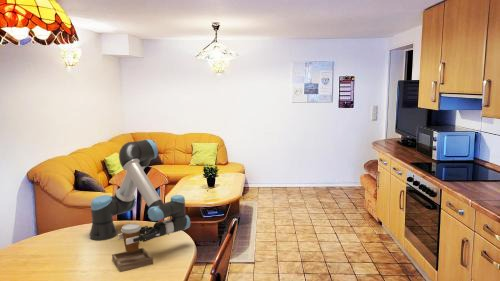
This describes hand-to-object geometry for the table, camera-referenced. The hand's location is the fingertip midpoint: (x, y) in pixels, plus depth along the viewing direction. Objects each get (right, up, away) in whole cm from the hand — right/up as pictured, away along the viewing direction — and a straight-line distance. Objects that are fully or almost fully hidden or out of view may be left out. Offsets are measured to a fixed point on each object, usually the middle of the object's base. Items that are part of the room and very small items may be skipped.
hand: (122, 239), depth 199 cm
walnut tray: (+3, -13, +5) cm, 14 cm away
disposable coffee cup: (+4, -6, +4) cm, 8 cm away
